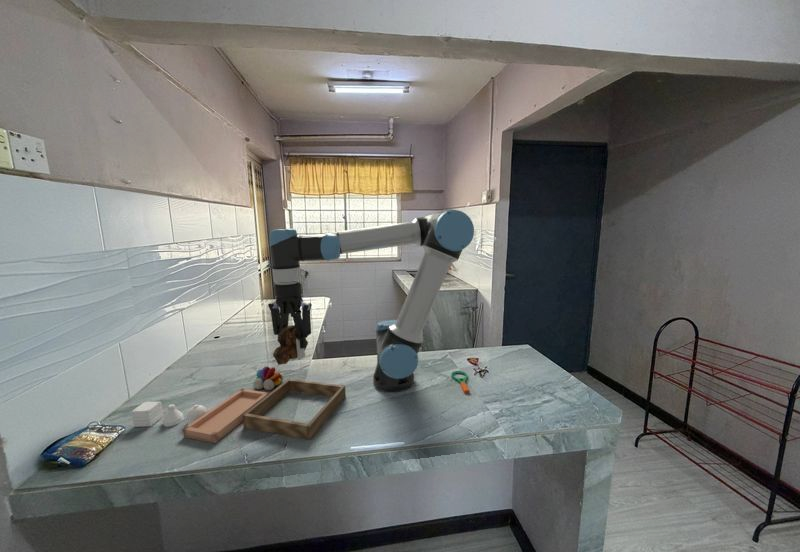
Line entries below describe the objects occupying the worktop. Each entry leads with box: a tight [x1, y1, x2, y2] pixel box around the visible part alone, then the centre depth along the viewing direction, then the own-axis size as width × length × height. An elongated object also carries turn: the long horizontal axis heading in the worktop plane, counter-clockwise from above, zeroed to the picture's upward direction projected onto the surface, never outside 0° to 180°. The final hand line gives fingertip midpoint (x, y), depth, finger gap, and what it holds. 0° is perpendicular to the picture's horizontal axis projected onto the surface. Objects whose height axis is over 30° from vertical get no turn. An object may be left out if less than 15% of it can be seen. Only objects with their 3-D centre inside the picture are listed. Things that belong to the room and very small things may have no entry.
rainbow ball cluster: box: [252, 366, 284, 391], centre depth 114 cm, size 8×10×7 cm
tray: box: [182, 388, 270, 444], centre depth 96 cm, size 11×22×2 cm, turn 164°
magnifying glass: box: [450, 370, 471, 395], centre depth 113 cm, size 15×6×2 cm, turn 1°
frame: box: [242, 378, 347, 441], centre depth 98 cm, size 22×22×4 cm
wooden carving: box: [272, 324, 309, 366], centre depth 94 cm, size 16×5×10 cm, turn 172°
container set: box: [131, 401, 208, 428], centre depth 94 cm, size 20×5×6 cm, turn 90°
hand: (294, 357), depth 95 cm, fingers closed on wooden carving, 4 cm apart
